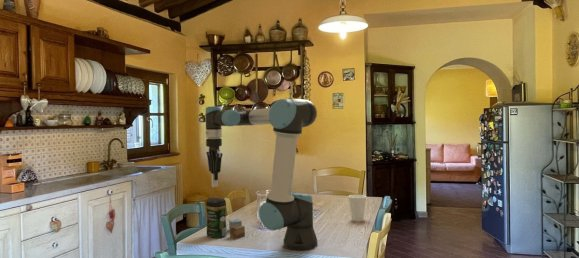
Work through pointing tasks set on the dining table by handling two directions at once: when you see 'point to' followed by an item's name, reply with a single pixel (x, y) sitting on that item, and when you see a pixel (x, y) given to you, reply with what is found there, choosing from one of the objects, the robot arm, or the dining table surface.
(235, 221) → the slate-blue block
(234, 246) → the dining table surface
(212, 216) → the coffee jar
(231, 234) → the walnut block
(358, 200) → the foam cup
